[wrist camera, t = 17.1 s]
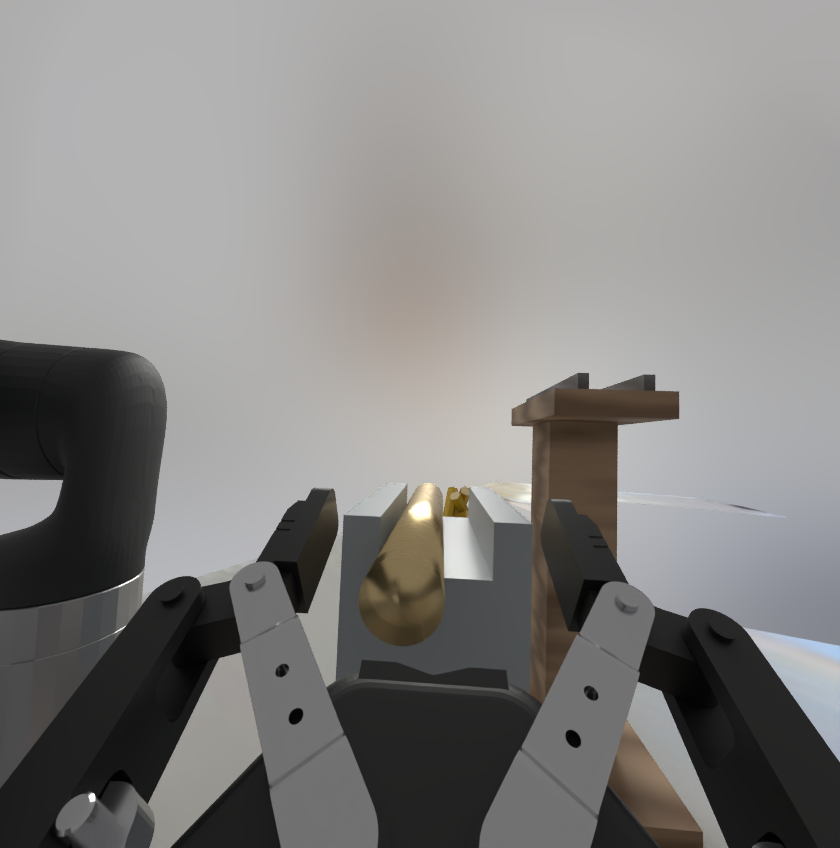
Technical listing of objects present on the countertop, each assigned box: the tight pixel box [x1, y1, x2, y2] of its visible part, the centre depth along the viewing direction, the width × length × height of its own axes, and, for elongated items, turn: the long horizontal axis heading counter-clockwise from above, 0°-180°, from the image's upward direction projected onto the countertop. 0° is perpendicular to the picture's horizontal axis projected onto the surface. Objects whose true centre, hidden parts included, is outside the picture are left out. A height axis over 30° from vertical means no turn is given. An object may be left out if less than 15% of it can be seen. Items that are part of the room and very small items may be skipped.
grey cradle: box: [336, 483, 533, 694], centre depth 26 cm, size 16×10×24 cm, turn 177°
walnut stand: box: [512, 373, 703, 848], centre depth 34 cm, size 16×12×33 cm
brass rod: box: [359, 483, 445, 646], centre depth 24 cm, size 24×3×3 cm
